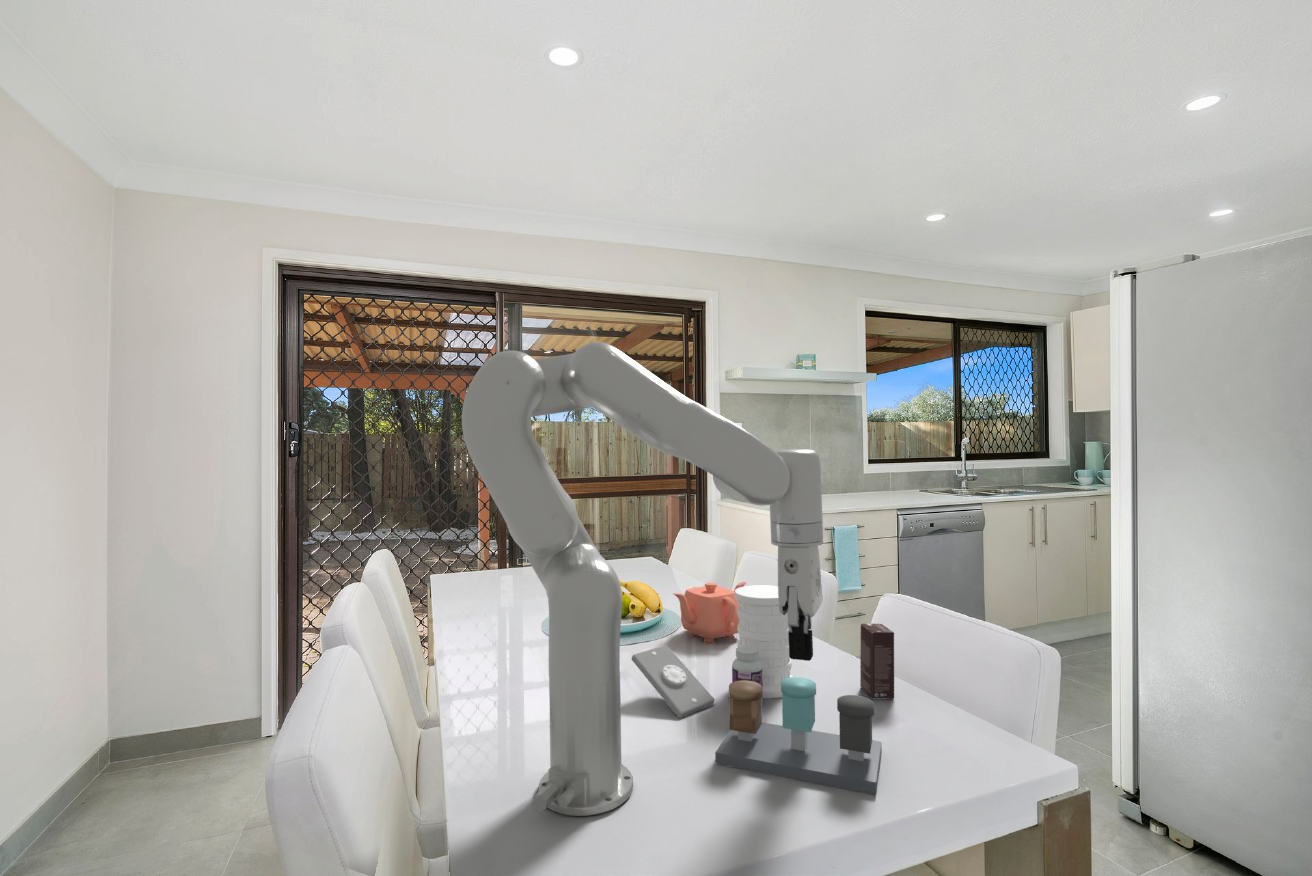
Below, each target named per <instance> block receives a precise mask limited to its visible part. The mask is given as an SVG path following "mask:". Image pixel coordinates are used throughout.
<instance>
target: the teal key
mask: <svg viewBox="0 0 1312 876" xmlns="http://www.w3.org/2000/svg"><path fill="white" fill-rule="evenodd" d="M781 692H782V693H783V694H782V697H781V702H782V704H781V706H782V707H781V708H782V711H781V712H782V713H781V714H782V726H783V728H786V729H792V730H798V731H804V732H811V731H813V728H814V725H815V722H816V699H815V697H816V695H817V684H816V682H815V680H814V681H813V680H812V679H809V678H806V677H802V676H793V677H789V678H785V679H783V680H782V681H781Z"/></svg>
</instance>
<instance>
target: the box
mask: <svg viewBox="0 0 1312 876" xmlns="http://www.w3.org/2000/svg"><path fill="white" fill-rule="evenodd" d="M859 662H860V667H859V668H860V676H859V677H860V682H859V683H860V686H859V687H860V688H861V689H862V690H863V691H864V692H865V693H866V694H867V695H868V696H869V697H870V698H871V699H872V700H874V701H875V700H891V699H895V632H894V631H893V630H891V629H890V628H888V627H887V626H885V625H884V624H882V623H861V624H860V661H859Z"/></svg>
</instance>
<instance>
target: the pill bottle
mask: <svg viewBox="0 0 1312 876" xmlns="http://www.w3.org/2000/svg"><path fill="white" fill-rule="evenodd" d="M758 657H759V653H758V649H757V648H755V647H751V646H741V647H738V646H737V647H736V648H735V659H734V660H733V661H732V665H731V668H732V669H731V683H732V682H735V681H741V680H746V681H753V682H757V683H759V684H760V685H761V686H762V703H763V699H764V698H763V677H762V675H763V674H762V669H763V668H762V663H761V662H760V661H759V660H758Z"/></svg>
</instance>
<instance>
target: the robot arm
mask: <svg viewBox="0 0 1312 876" xmlns="http://www.w3.org/2000/svg"><path fill="white" fill-rule="evenodd" d="M475 373H476V374H475V375H474V376H473V378H472V380H471V382H470V384H469V386H468V388H467V391H466V393H465V396H464V399H463V404H462V412H461V428H462V435H463V439H464V443H465V446H466V447H465V448H466V449H467V452H468V454H469V457H470V459H471V460H472V462H473V465H474V466H475V468H476V470H477V472H478V474H479V476H480V477H481V480H482V481H483V482H484V485H485V487H486V490H487V491H488V493H489V495H490V496H491V498H492V500H493V502H494V503H495V505H496V507H497V509H498V510H499V512H500V514H501V516H502V518H503V520H504V522H505V523H506V526H507V529H508V532H509V534H510V536H511V538H512V539H513V541H514V542H515V544H517V545H518V547H519V548H520V549H521V550H522V552H523V554H524V556H525V557H526V559H527V560H528V562H529V564H530V566H531V568H532V569H533V571H534V573H535V574H536V576H537V577H538V579H539V581H540V583H541V585H542V586H543V588H544V589H545V592H546V596H547V597H546V598H547V603H548V680H549V681H548V683H549V684H548V687H549V689H548V690H549V697H548V698H549V750H550V751H549V754H550V755H549V756H550V758H549V761H550V762H549V764H550V768H549V769H548V770H547V772H546V773H544V775H543V776H542V777H541V778H540V780H539V783H538V793H536V795H535V796H534V797H533V800H532V803H533V806H534V808H535V809H536V810H537V811H538V812H542V811H545V810H546V809H547V808H548V809H549V810H551V811H552V812H555V813H558V814H562V815H565V816H571V817H574V816H575V817H578V816H579V817H583V816H584V817H585V816H593V815H594V816H595V815H598V814H604V813H606V812H609V811H612V810H613V809H615V808H618V807H620V805H622V804H623V803H624V802H625V801H626V802H627V801H628V799H629V797H631V795H632V793H633V791H634V790H633V789H634V777H633V775H632V772H631V771H630V770H629V768H627V766H625V765H624V764H622V717H621V716H622V715H621V712H622V711H621V710H622V709H621V708H622V707H621V704H622V702H621V701H622V700H621V667H620V665H621V662H620V661H621V656H620V655H621V654H620V652H621V649H620V648H621V647H620V645H621V628H622V627H621V624H622V614H623V592H622V587H621V583H620V579H619V577H618V574H617V572H616V570H615V569H614V568H613V566H612V565H611V564H610V562H608V561H607V560H606V559H605V557H603V556H602V555H601V553H600V552H599V550H598V549H597V547H596V545H595V543H594V542H593V539H591V537H590V535H589V533H588V531H587V530H586V528H585V526H584V524H583V523H582V521H581V519H580V517H579V515H578V514H579V513H578V510H577V508H576V505H575V503H574V500H573V499H572V498H571V496H570V495H569V494H568V492H566V490H565V489H564V488H563V486H562V484H561V483H560V481H559V479H558V477H557V476H556V474H555V472H554V470H553V469H552V468H551V465H550V463H549V462H548V461H547V458H546V456H545V455H544V452H543V450H542V449H541V446H540V445H539V443H538V441H537V439H536V437H535V435H534V431H533V428H532V418H533V417H541V416H546V415H547V416H549V415H553V414H554V415H556V414H561V413H568V412H573V411H579V410H584V409H589V408H593V409H595V410H597V411H598V412H599V413H601V414H602V415H604V416H605V417H607V418H609V419H610V420H611V421H612V422H614V423H616V424H618V426H620V427H622V428H623V429H625V430H626V431H627V432H629V433H631V434H632V435H633V436H635V437H636V438H637V439H639V440H641V441H643V442H644V443H645V444H646V445H648V446H650V447H651V448H653V449H655V450H657V451H659V452H661V453H663V454H667V455H669V456H671V457H675V458H678V459H681V460H683V461H686V462H687V463H690V464H692V465H694V466H696V467H698V468H700V469H702V470H703V471H705V472H707V473H709V474H710V475H712V480H713V484H714V487H715V488H716V490H717V491H718V492H719V493H720V494H722V495H723V496H724V497H726V498H728V499H730V500H733V501H736V502H737V501H738V502H741V503H747V504H751V505H755V506H760V507H761V506H769V520H770V523H769V524H770V544H771V545H773V546H776V547H777V559H776V561H777V586H778V600H779V610H780V612H781V613H782V614H783V615H785V614H786V613H787V615H788V629H789V631H788V636H789V657H790V659H791V660H798V661H808V662H809V661H811V660H812V658H813V657H814V648H813V647H814V646H813V644H814V643H813V641H814V640H813V630H812V618H813V617H815V615H816V614H817V613H818V611H819V609H820V607H821V606H822V603H823V587H822V575H821V573H822V572H821V560H820V551H819V550H820V549H819V546H822V545H823V544H824V525H823V524H824V523H823V522H824V521H823V501H822V500H823V499H822V497H823V494H822V476H821V475H822V472H821V471H822V469H821V459H820V458H821V457H820V455H819V454H818V452H816V451H815V450H813V449H782V450H781V449H780V450H776V451H775V450H774V449H772V448H771V447H769V445H767V444H765V443H764V442H762V440H760V439H759V438H757V437H756V436H754V435H753V434H752V433H750V432H748V431H747V430H746V429H744V428H743V427H741V426H739V425H738V424H736V423H734V422H733V421H731V420H729V419H727V418H726V417H724V416H722V415H720V414H718V413H716V412H714V411H712V410H711V409H709V408H707V407H705V406H704V405H702V404H700V403H699V402H696V401H694V400H693V399H690V398H689V397H687V396H685V395H684V394H682V393H681V392H679V391H678V390H676V389H675V388H674V387H672V386H671V385H669V384H668V383H667V382H665V381H664V380H662V379H660V377H658V376H657V375H655V374H654V373H652V372H651V371H649V370H648V369H647V368H645V367H644V366H643V365H641V364H640V363H638V362H637V361H636V360H634V359H632V358H631V357H630V356H628V355H627V354H625V353H624V352H623V351H621V350H620V349H618V348H617V347H615V346H613V345H612V344H609V343H607V342H603V341H593V342H588V343H586V344H584V345H582V346H580V347H579V348H578V349H577V350H575V352H572V353H568V354H562V355H556V356H550V357H549V356H548V357H542V358H533V357H532V356H530V355H529V354H527V353H525V352H522V351H520V350H519V351H518V350H510V349H509V350H503V351H500V352H497V353H496V354H494V355H492V356H491V357H489V358H488V359H487V360H486V361H485V362H484V363H483V364H482V365H481V367H480V368H479V369H478V370H477V372H475Z"/></svg>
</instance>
